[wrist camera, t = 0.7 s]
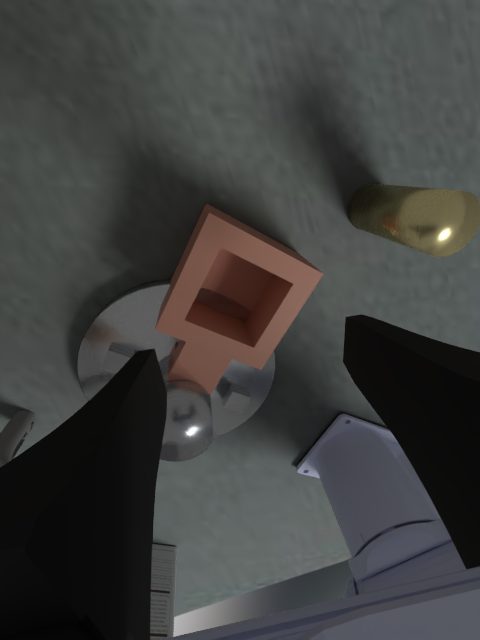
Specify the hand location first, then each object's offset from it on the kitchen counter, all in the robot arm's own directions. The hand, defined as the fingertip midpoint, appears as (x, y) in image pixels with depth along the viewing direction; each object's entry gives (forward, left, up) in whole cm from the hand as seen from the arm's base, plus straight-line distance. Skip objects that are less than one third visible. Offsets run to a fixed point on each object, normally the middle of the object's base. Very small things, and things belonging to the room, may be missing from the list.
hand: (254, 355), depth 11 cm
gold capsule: (-6, -8, -10) cm, 14 cm away
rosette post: (0, +8, -10) cm, 13 cm away
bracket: (0, +2, -10) cm, 10 cm away
